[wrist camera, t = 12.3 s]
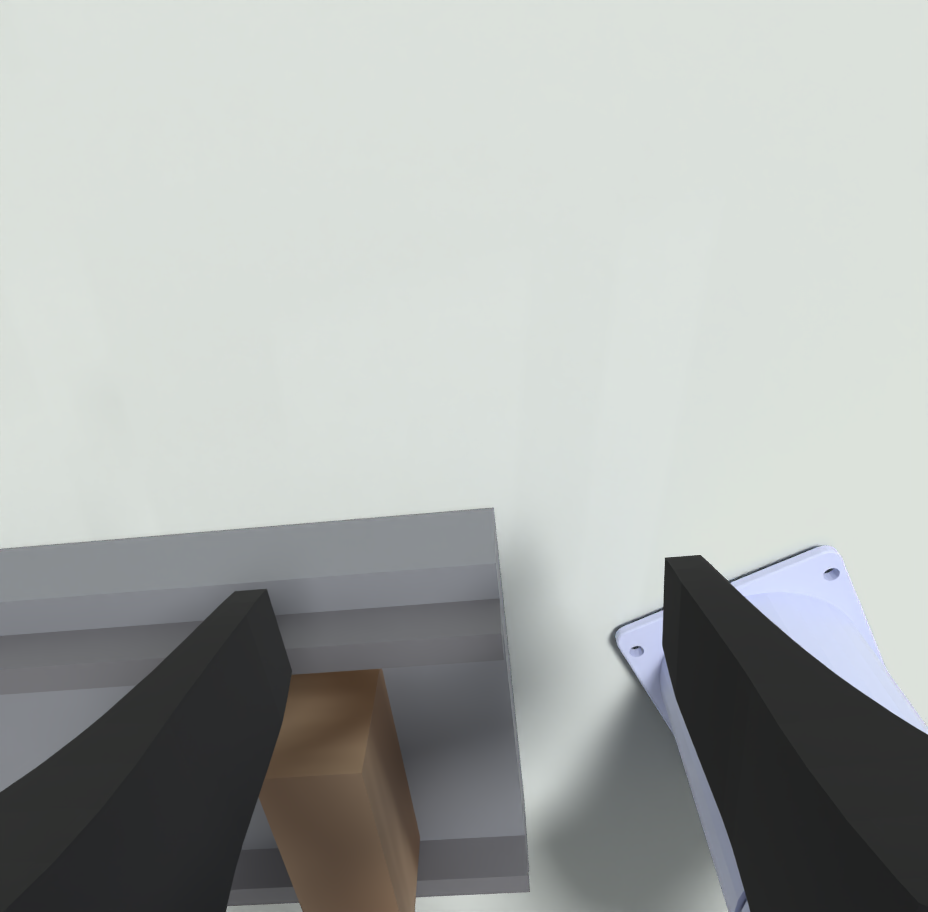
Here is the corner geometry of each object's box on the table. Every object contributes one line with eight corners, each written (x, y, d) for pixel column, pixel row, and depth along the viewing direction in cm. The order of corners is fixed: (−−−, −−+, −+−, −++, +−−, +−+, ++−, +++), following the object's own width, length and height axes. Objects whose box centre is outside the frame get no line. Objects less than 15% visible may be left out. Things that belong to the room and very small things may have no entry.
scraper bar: (380, 662, 22) (361, 772, 18) (420, 837, 26) (411, 955, 22) (288, 668, 22) (251, 779, 18) (342, 841, 26) (321, 959, 22)
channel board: (493, 508, 22) (497, 597, 18) (524, 801, 29) (531, 911, 25) (-80, 555, 24) (-193, 648, 20) (80, 825, 31) (21, 934, 27)
